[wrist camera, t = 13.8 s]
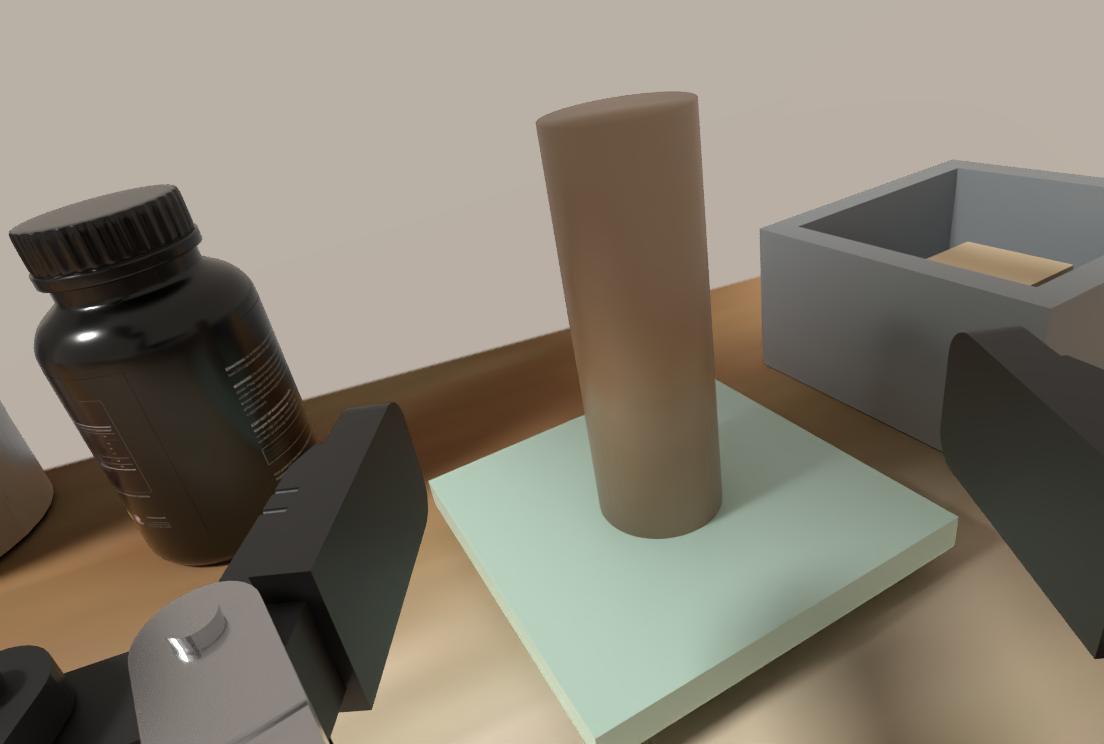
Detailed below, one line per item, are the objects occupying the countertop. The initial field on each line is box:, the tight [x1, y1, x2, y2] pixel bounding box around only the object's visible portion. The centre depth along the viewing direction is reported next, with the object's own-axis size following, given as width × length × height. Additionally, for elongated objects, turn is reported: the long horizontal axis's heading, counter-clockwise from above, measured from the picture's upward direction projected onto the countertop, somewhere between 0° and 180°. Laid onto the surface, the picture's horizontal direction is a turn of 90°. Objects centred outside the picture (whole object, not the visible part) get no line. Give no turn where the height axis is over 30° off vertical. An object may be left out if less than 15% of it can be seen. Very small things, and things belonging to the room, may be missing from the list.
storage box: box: [760, 160, 1104, 452], centre depth 26 cm, size 11×11×6 cm
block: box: [927, 242, 1074, 287], centre depth 27 cm, size 4×4×3 cm
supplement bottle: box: [9, 184, 320, 566], centre depth 24 cm, size 7×7×12 cm
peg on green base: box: [428, 92, 959, 744], centre depth 19 cm, size 11×11×13 cm
